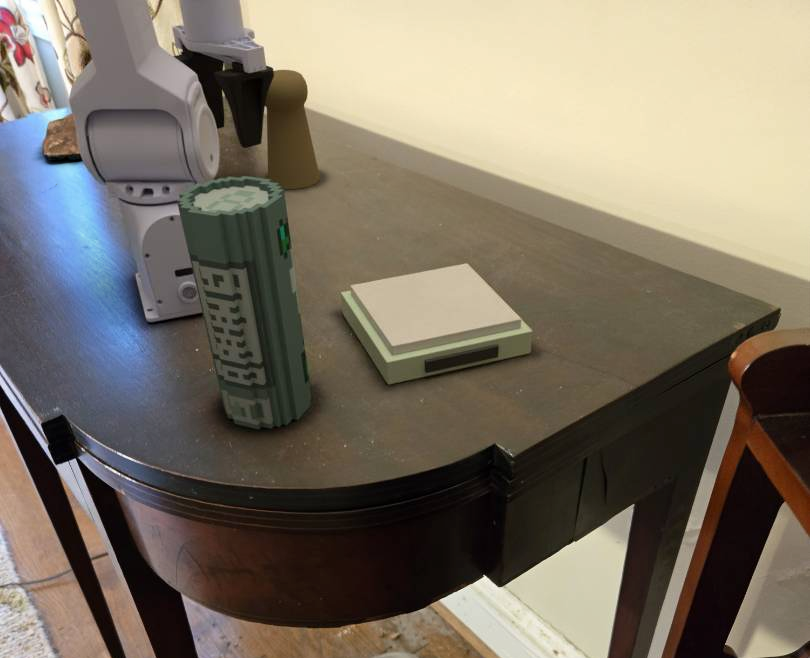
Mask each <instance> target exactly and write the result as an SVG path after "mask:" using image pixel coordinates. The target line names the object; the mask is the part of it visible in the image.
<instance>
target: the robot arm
mask: <svg viewBox="0 0 810 658" xmlns="http://www.w3.org/2000/svg"><path fill="white" fill-rule="evenodd" d="M72 2H73V5H74V9H75V12H76V15H77V18H78V20H79V23H80V26H81V29H82V32H83V35H84V39H85V41H86V44H87V48H88V50H89V54H90V56H91V60H90V61H89V62H88V63H87V65H86V66H85V67H83V69H82V70H81V72H80V73H79V74H78V75H77V76H76V78H75V80H74V81H73V83H72V85H71V88H70V92H69V97H68V103H69V107H70V111H71V114H73V118H74V122H75V126H76V134H77V142H78V147H79V151H80V154H81V157H82V159H81V160H82V162H83V165H84V166H85V168H86V170H87V171H88V172H89V174H90V175H91V176H92V177H93V179H94V180H95V181H96V182H97V183H98V184H100V185H103V186H105V187H106V189H107V193H108V197H110V198H117V200H118V203H119V207H120V209H121V211H120V212H121V214H122V217H123V221H124V225H125V228H126V232H127V235H128V240H129V242H130V246H131V249H132V253H133V257H134V260H135V263H136V268H137V271H138V272H136V273H135V275H134V277H135V280H136V284H137V288H138V291H139V297H140V299H141V300H140V301H141V304H142V307H143V312H144V316H145V319H146V321H147V322H149V323H155V322H161V321H165V320H166V321H167V320H170V319H171V320H172V319H176V318H182V317H187V316H191V315H197V314H203V313H202V309H201V304H200V300H199V296H198V291H197V287H196V283H195V278H194V274H193V270H192V265H191V261H190V256H189V252H188V248H187V243H186V239H185V235H184V230H183V226H182V221H181V217H180V213H179V208H178V204H177V200H178V199H180V197H179V194H181V193H183V192H184V191H186V190H188V189H189V188H191V187H192V186H194V185H196V184H197V183H202V184H204V183H206V182H207V181H209V180H211V179H212V180H215V178H216V177H217V174H218V171H219V168H220V159H221V158H220V157H221V153H220V151H221V150H220V139H219V138H220V137H219V131H218V129H222V128H225V107H224V106H225V105H224V96H225V99H226V101H227V105H228V107H229V110H230V113H231V116H232V120H233V124H234V128H235V129H234V130H235V132H236V136H237V138H238V141H239V144H240V146H241V147H242V148H244V149H248V148H251V147H254V146H258V145H261V144H262V139H263V130H264V129H263V127H264V115H265V108H266V106H265V103H266V98H267V94H268V91H269V87H270V85H271V82H272V80H273V77H274V71H275V70H274V68H273V67H271V66H269V65H267V63H266V62H267V61H266V54H265V48H264V46H263V45H261V44H259V43H256V42H255V41H254V39H255V38H256V34H255V30H254V29H251V28H247V27H244V20H243V13H242V6H241V0H178V3H179V8H180V13H181V18H182V24H178V25H173V26H171V29H172V34H173V38H174V44H175V48H176V49H179V50H181V51H180V54H178V55H172V54H170V53H169V52H168V51H167V50H165V49H164V48H163V47H162V46H161V45H160V44H159V40H158V36H157V32H156V29H155V25H154V22H153V18H152V14H151V11H150V6H149V2H148V0H72ZM225 62H226V63H229V64H231V68H228V69H227V68H226V69H224V65H225ZM223 94H224V96H223Z"/></svg>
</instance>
